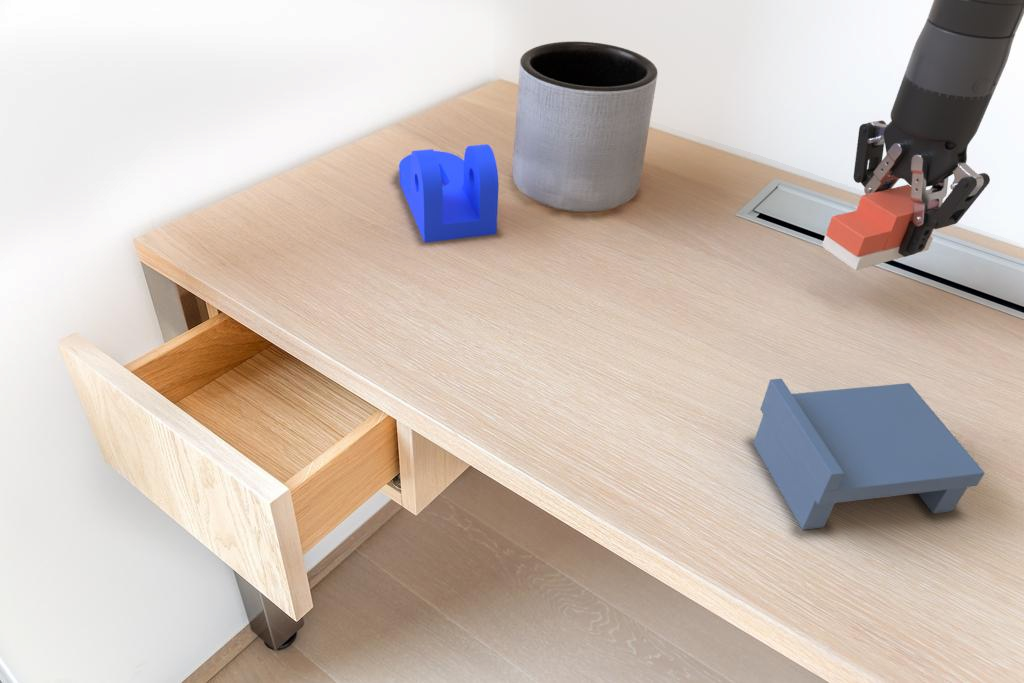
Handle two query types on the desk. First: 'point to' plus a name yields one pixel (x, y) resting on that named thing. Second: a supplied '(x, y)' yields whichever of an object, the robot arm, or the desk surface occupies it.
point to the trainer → (872, 229)
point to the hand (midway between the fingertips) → (887, 239)
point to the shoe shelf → (859, 449)
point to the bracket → (452, 192)
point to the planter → (582, 125)
